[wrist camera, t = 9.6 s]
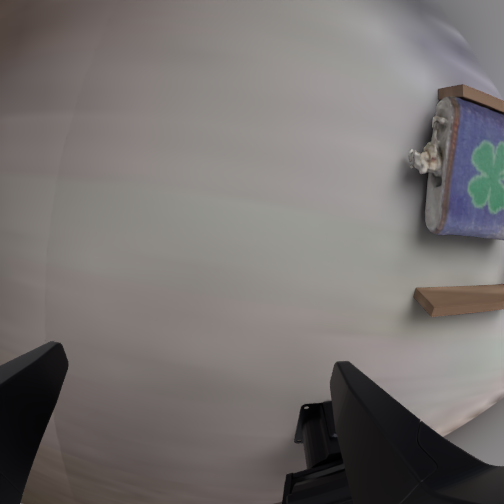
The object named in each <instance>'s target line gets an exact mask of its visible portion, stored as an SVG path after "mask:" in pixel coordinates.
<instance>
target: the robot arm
mask: <svg viewBox="0 0 504 504" xmlns="http://www.w3.org/2000/svg"><path fill="white" fill-rule="evenodd" d="M67 370H68V359H67V357H66V354H65V351H64V348H63V346H62V344H61V343H59V342H54V341H50V342H48V343H46V344H44V345H42V346H40V347H38V348H36V349H34V350H32V351H30V352H28V353H25V354H23V355H21V356H19V357H17V358H15V359H13V360H11V361H9V362H7V363H5V364H3V365H1V366H0V504H20V502H21V499H22V496H23V495H22V494H23V492H24V489H25V485H26V482H27V479H28V476H29V473H30V470H31V467H32V464H33V461H34V459H35V456H36V453H37V450H38V448H39V445H40V442H41V440H42V437H43V435H44V432H45V430H46V427H47V425H48V422H49V420H50V417H51V415H52V412H53V410H54V408H55V405H56V403H57V400H58V397H59V394H60V391H61V388H62V385H63V382H64V379H65V376H66V373H67ZM330 391H331V398H332V401H327V402H324V403H313V404H304V405H303V406H302V407H301V410H300V415H299V420H298V425H297V430H296V434H295V439H294V442H295V443H304V450H305V457H306V464H307V470H304V471H300V472H297V473H290V474H286V481H285V485H284V493H283V500H282V504H504V466H493V465H489V464H486V463H484V462H482V461H481V460H479V459H477V458H475V457H474V456H472V455H470V454H469V453H467V452H466V451H464V450H462V449H461V448H459V447H457V446H456V445H454V444H453V443H451V442H450V441H448V440H447V439H445V438H444V437H442V436H441V435H439V434H438V433H437V432H435V431H434V430H433V429H431V428H430V427H429V426H427V425H426V424H425V423H424V422H422V421H421V422H420V419H419V418H417V417H416V416H415V415H414V414H412V413H411V412H410V411H409V410H407V409H406V408H405V407H404V406H402V405H401V404H400V403H399V402H398V401H396V400H395V399H394V398H393V397H391V396H390V395H389V394H388V393H387V392H385V391H384V390H383V389H382V388H380V387H379V386H378V385H377V384H376V383H374V382H373V381H372V380H371V379H369V378H368V377H367V376H366V375H365V374H363V373H362V372H361V371H360V370H359V369H357V368H356V367H355V366H354V365H353V364H351V363H350V362H349V361H338V362H336V363H335V364H334V368H333V372H332V376H331V380H330ZM306 406H308V407H309V408H308V409H304V407H306ZM297 440H301V441H297Z"/></svg>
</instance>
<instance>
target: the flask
mask: <svg viewBox="0 0 504 504" xmlns="http://www.w3.org/2000/svg"><path fill="white" fill-rule="evenodd" d="M433 126H434V129H433V135H432V141H431V142H428V143H427V144H426V146H425V147H424V148H423V153H421V154H420V153H417V152H416V150H415V152H414V166H413V165H412V164H411V165H410V168H412V169H413V167H415V168H416V169H418V170H419V173H420V174H424V173H427V172H428V182H427V197H426V208H425V222H426V225H427V227H428V229H429V231H430V232H432V233H434V234H438V235H450V234H451V235H462V236H474V237H481V238H492V239H499V240H504V114H500V113H497V112H495V111H492V110H490V109H488V108H485V107H482V106H480V105H477V104H474V103H472V102H469V101H466V100H462V99H460V98H457V97H455V96H451V97H445V98H443V99H442V100H441V101H439V103H438V104H437V107H436V114H435V117H433V121H432V128H433ZM409 160H410V162H411V161H412V160H413V149H411V150H410V153H409Z"/></svg>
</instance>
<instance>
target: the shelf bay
mask: <svg viewBox="0 0 504 504" xmlns="http://www.w3.org/2000/svg"><path fill="white" fill-rule="evenodd" d="M451 96H455V97H457V98H460V99H462V100H466V101H469V102H472V103H474V104H477V105H480V106H482V107H485V108H488V109H490V110H492V111H495V112H497V113H500V114H504V101H502V100H500V99H498V98H496V97H493V96H491V95H489V94H486V93H484V92H481V91H479V90H476V89H474V88H471V87H468V86H466V85H463V84H462V85H457V86H451V87H446V88H441V89H439V100H442V99H443V98H445V97H451ZM414 298H415V299H416V300H417V301H418V302H419V304H420V305H421V306H422V307H423V308H424V309H425V310H426V311H427V313H428V314H429V315H430V316H431V317H435V316H446V315H457V314H467V313H476V312H485V311H493V310H500V309H504V284H498V285H479V286H457V287H428V288H416V290H415V294H414Z"/></svg>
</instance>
